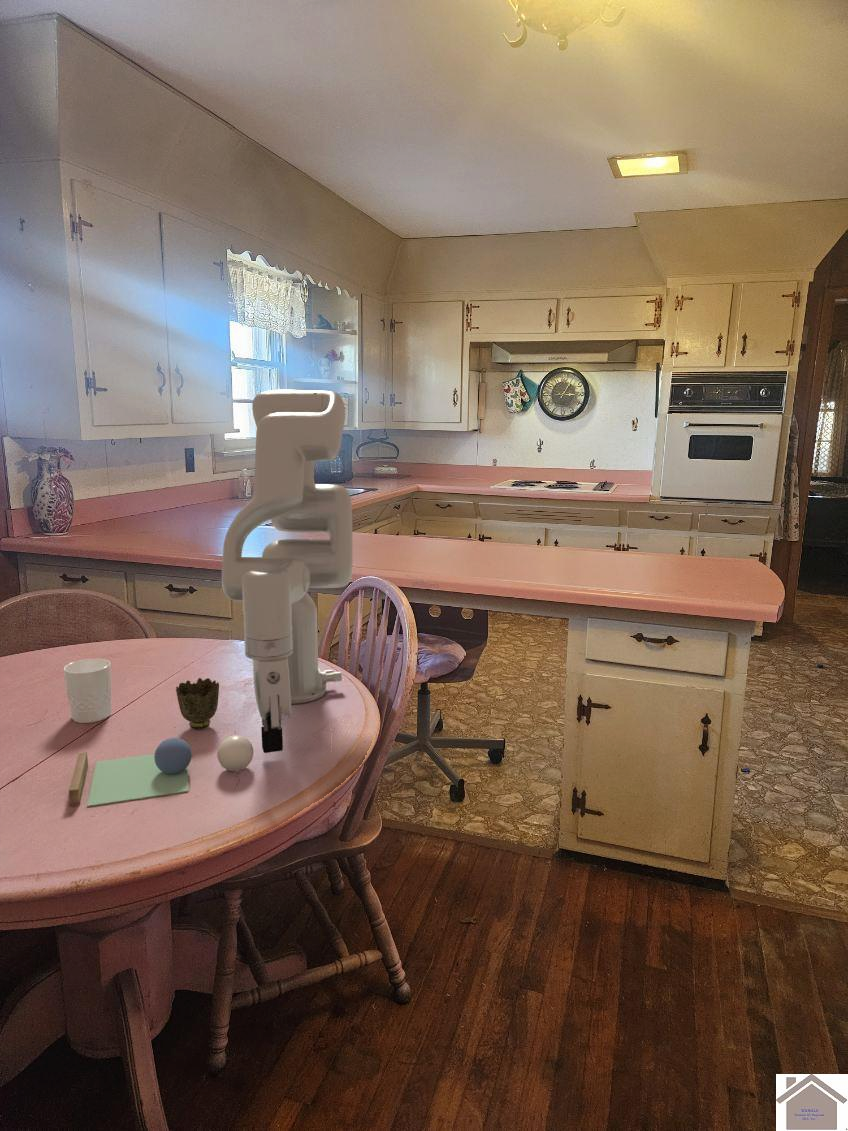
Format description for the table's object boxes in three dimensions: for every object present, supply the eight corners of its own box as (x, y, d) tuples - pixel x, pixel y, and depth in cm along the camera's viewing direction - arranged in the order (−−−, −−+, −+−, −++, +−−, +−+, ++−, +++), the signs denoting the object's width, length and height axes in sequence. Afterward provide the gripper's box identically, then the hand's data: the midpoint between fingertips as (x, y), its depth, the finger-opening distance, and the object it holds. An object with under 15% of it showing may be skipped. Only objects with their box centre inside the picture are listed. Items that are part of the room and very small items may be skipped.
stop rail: (88, 766, 116) (86, 752, 116) (79, 804, 105) (78, 789, 105) (80, 767, 116) (78, 753, 115) (70, 806, 105) (68, 790, 104)
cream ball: (216, 730, 114) (209, 756, 117) (227, 756, 111) (221, 782, 113) (249, 725, 118) (242, 749, 120) (261, 749, 114) (254, 774, 117)
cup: (182, 739, 126) (179, 696, 125) (175, 722, 133) (172, 681, 131) (225, 730, 130) (223, 689, 128) (216, 715, 136) (214, 675, 134)
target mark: (186, 750, 122) (186, 749, 122) (188, 791, 109) (188, 790, 109) (96, 762, 118) (96, 761, 118) (87, 807, 105) (87, 805, 105)
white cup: (97, 726, 131) (92, 674, 129) (58, 722, 132) (53, 671, 130) (123, 709, 138) (119, 660, 136) (86, 705, 140) (82, 656, 138)
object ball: (190, 729, 117) (153, 734, 115) (191, 744, 112) (152, 750, 110) (192, 760, 119) (156, 766, 117) (193, 777, 113) (155, 783, 112)
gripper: (299, 657, 110) (302, 767, 114) (285, 628, 124) (288, 728, 128) (249, 662, 108) (254, 774, 112) (240, 632, 121) (245, 733, 125)
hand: (272, 749), depth 120 cm, fingers closed
